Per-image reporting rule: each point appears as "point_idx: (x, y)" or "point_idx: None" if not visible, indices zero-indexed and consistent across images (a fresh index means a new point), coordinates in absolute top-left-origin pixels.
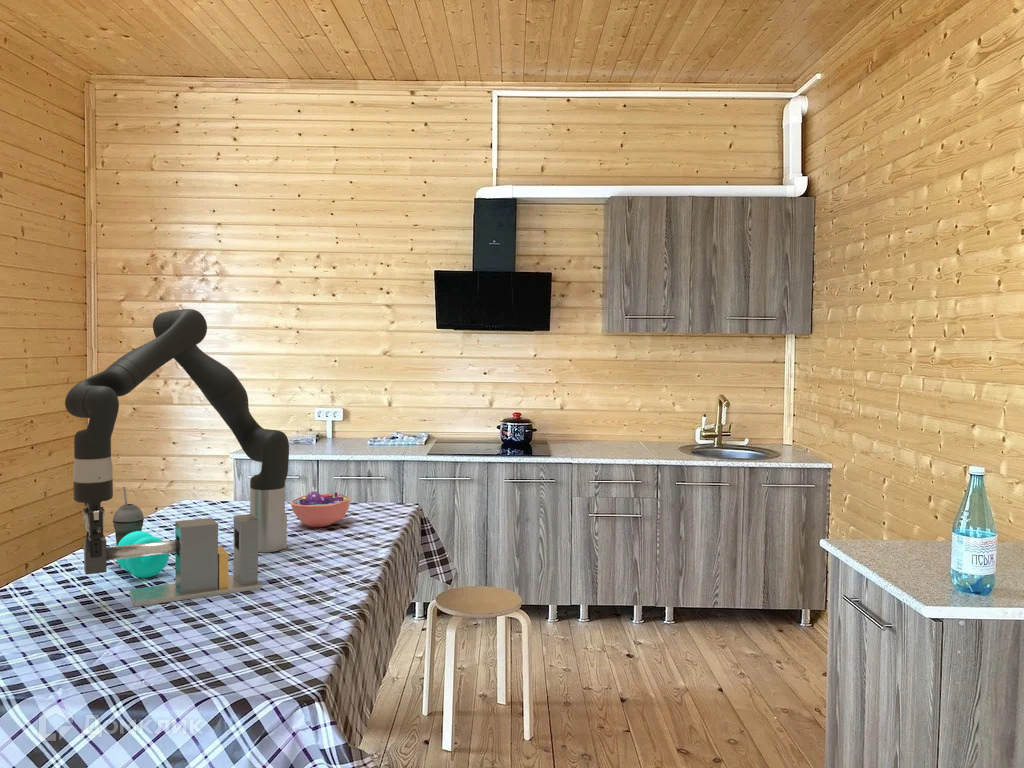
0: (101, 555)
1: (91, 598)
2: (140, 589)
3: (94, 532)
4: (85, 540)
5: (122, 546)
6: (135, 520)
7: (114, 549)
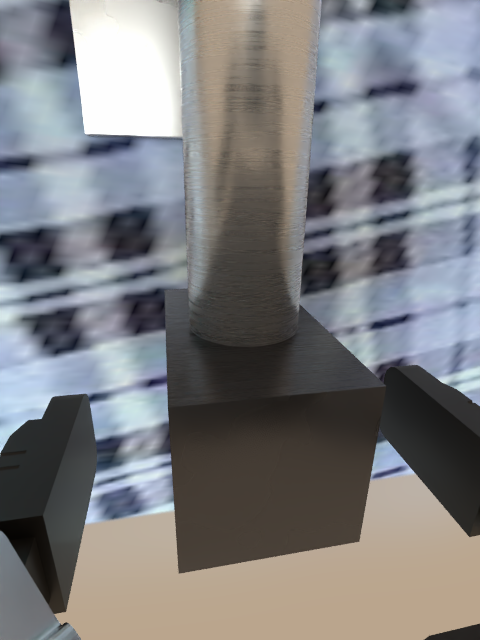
0: (417, 366)
1: (100, 296)
2: (110, 77)
3: (57, 536)
4: (288, 549)
5: (275, 193)
6: None
7: (296, 269)
